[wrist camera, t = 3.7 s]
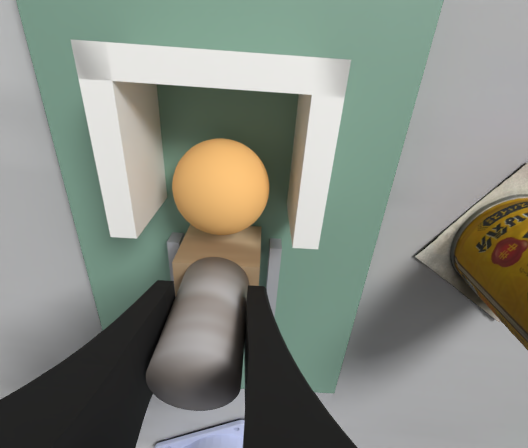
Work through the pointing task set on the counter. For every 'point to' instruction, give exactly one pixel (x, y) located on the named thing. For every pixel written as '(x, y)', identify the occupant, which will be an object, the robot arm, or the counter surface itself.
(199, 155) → the ball
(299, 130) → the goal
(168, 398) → the grey and tan mallet
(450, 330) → the counter surface
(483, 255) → the condiment
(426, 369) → the counter surface
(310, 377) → the pitch
